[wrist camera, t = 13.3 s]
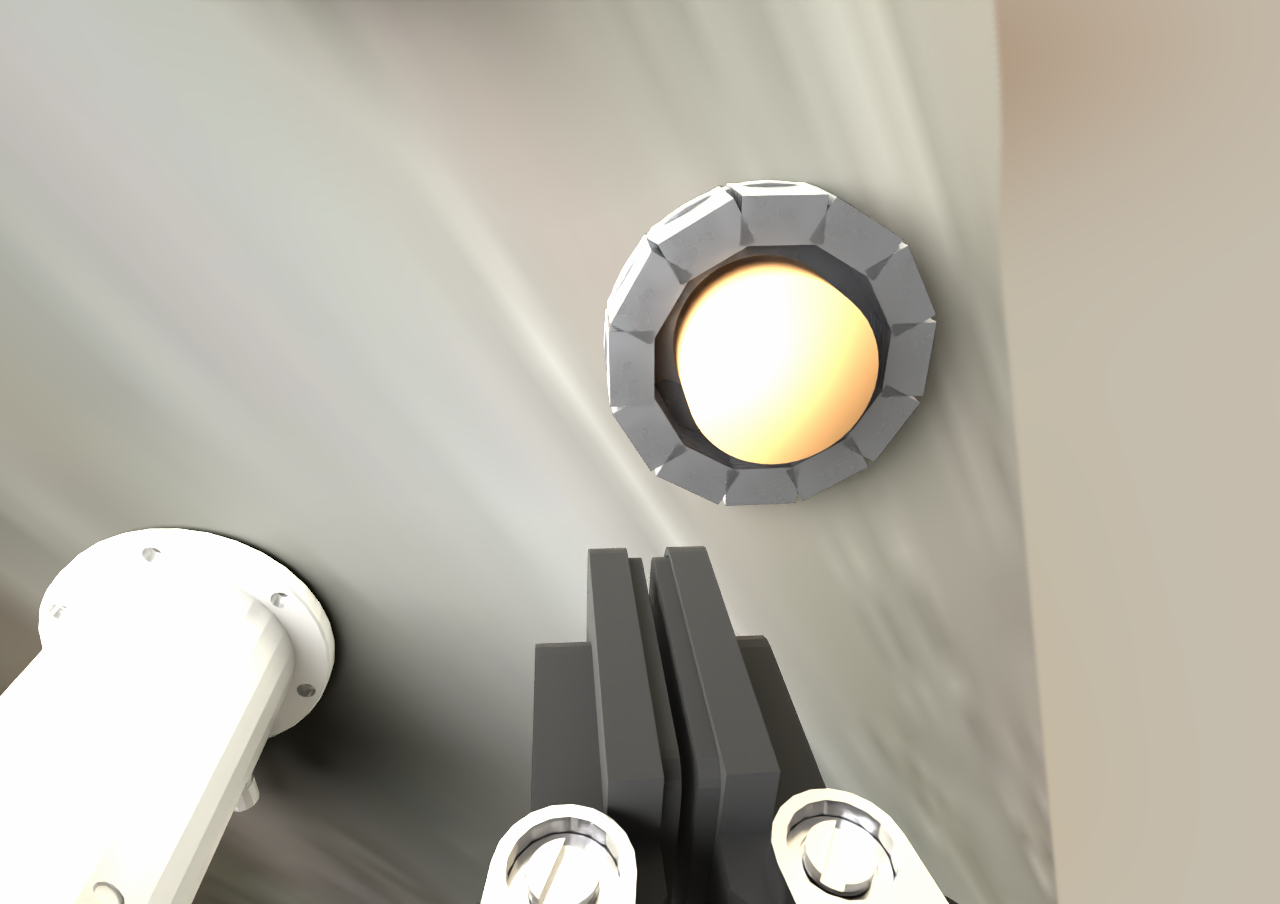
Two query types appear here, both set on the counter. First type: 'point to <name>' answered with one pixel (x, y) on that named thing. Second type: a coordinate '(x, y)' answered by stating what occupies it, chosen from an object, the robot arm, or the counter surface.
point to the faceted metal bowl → (727, 231)
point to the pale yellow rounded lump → (773, 359)
